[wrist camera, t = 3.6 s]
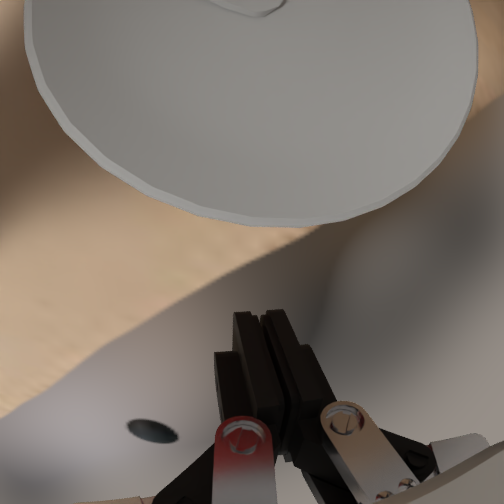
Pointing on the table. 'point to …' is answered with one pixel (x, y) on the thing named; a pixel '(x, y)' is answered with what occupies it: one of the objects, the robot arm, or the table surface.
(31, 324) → the table surface
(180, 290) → the table surface
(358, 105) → the canned food
